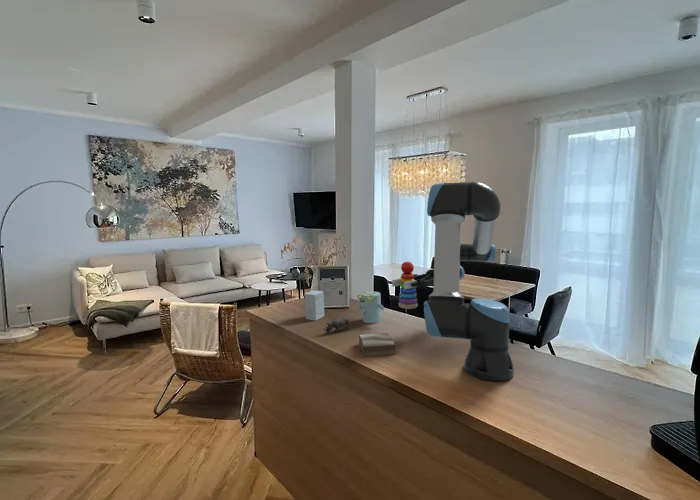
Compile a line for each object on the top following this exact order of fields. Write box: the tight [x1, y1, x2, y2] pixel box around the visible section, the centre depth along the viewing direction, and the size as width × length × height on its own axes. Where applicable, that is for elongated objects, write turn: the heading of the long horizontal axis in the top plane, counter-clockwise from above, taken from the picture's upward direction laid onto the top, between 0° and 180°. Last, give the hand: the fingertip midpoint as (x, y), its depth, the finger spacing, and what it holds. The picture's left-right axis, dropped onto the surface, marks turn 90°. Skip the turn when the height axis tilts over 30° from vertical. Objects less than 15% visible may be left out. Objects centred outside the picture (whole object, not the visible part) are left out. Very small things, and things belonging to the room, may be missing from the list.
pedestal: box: [358, 332, 396, 357], centre depth 138 cm, size 12×12×4 cm
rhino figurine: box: [323, 316, 351, 334], centre depth 158 cm, size 4×14×6 cm, turn 123°
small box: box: [304, 289, 325, 321], centre depth 178 cm, size 8×6×13 cm
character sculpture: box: [356, 291, 385, 324], centre depth 171 cm, size 20×12×13 cm, turn 34°
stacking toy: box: [397, 261, 419, 310], centre depth 145 cm, size 8×8×19 cm
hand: (398, 284), depth 142 cm, fingers closed on stacking toy, 6 cm apart
